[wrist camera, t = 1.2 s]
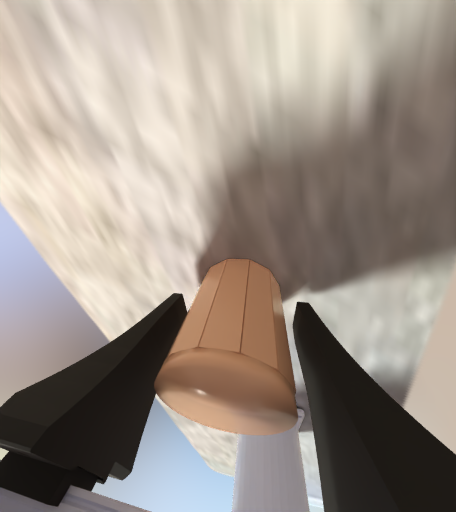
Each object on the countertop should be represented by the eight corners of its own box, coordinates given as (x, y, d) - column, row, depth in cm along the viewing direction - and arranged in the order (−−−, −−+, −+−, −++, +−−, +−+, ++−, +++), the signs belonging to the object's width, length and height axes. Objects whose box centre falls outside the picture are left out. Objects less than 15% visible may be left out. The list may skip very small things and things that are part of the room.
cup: (275, 320, 13) (288, 444, 7) (208, 314, 14) (172, 419, 8) (282, 259, 10) (311, 382, 4) (198, 257, 11) (134, 356, 5)
